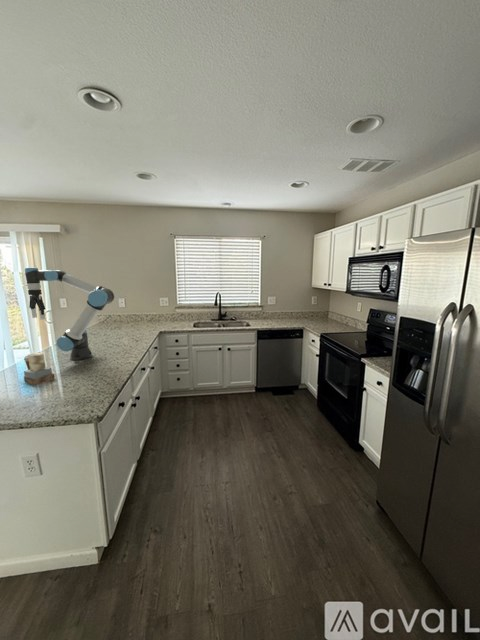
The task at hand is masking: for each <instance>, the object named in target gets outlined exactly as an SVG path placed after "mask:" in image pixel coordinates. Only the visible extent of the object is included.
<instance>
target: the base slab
mask: <svg viewBox="0 0 480 640" xmlns="http://www.w3.org/2000/svg"><path fill="white" fill-rule="evenodd" d="M23 380H24V382H25V383H26V384H28V385H30V386H32V387H34V386H36V385H40V384H43V382H44V383H46V381H47V382H49V381H53V380H56V379H55V373H53V372H52V374H50V375H47V376H44V377H41V378H38V379H31V378H26V377H25V375H24V376H23Z"/></svg>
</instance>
